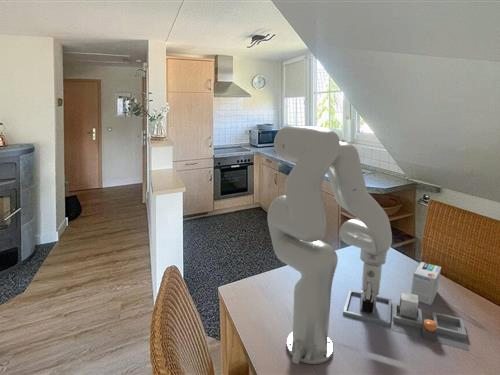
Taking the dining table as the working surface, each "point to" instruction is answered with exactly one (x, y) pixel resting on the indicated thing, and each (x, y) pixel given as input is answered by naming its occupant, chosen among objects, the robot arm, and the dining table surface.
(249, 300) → the dining table surface
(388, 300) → the tray
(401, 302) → the block
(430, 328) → the button
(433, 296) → the light bulb box
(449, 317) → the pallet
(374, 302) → the block
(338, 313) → the dining table surface
